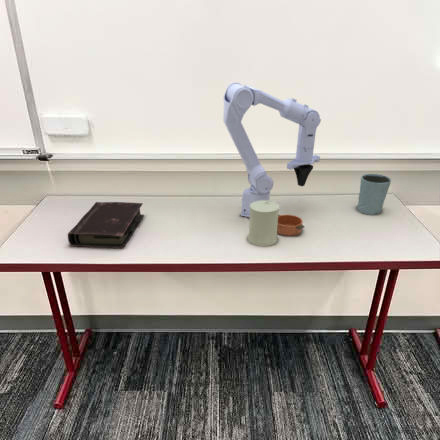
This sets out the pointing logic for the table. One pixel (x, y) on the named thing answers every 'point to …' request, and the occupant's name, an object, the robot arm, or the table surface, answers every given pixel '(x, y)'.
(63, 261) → the table surface
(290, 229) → the pan
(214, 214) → the table surface
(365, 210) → the grey cylinder
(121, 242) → the diary
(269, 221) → the can
